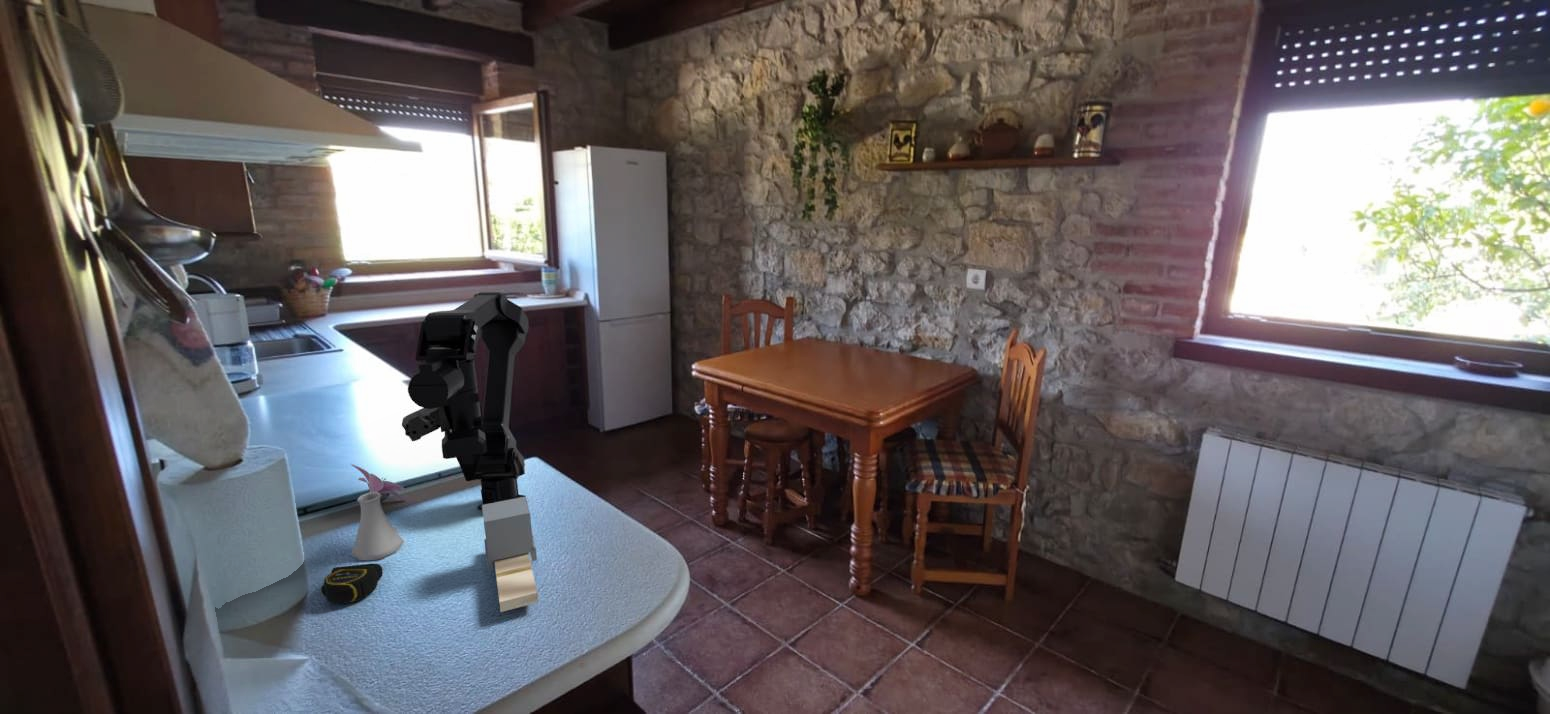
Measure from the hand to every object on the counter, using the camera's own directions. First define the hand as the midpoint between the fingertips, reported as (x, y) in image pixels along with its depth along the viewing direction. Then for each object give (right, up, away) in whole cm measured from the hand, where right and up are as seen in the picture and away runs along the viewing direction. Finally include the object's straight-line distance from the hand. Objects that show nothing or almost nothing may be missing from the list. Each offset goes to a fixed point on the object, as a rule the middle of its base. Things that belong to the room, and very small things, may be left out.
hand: (469, 475), depth 108 cm
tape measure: (-12, -16, -11) cm, 23 cm away
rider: (+9, -12, -5) cm, 16 cm away
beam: (+11, -15, -8) cm, 20 cm away
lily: (-24, -9, +15) cm, 29 cm away
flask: (-15, -13, 0) cm, 20 cm away
